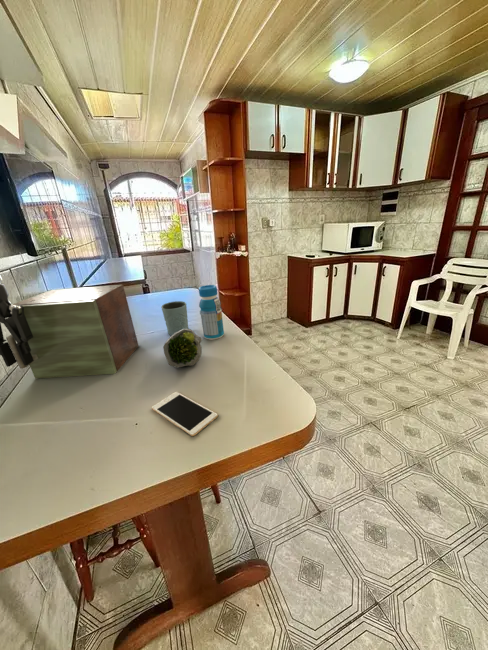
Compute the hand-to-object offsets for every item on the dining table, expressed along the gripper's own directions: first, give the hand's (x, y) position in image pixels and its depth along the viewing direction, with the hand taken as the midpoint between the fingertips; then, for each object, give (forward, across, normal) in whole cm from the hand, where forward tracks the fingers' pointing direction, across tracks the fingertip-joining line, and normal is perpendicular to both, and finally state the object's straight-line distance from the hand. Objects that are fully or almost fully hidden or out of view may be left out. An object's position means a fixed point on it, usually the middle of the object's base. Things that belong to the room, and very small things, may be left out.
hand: (20, 363), depth 78 cm
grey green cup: (+9, -36, -37) cm, 53 cm away
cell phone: (+9, -50, +15) cm, 53 cm away
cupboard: (+9, -10, -16) cm, 21 cm away
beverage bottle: (+9, -52, -30) cm, 61 cm away
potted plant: (+9, -46, -9) cm, 48 cm away
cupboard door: (+9, -10, -3) cm, 14 cm away
